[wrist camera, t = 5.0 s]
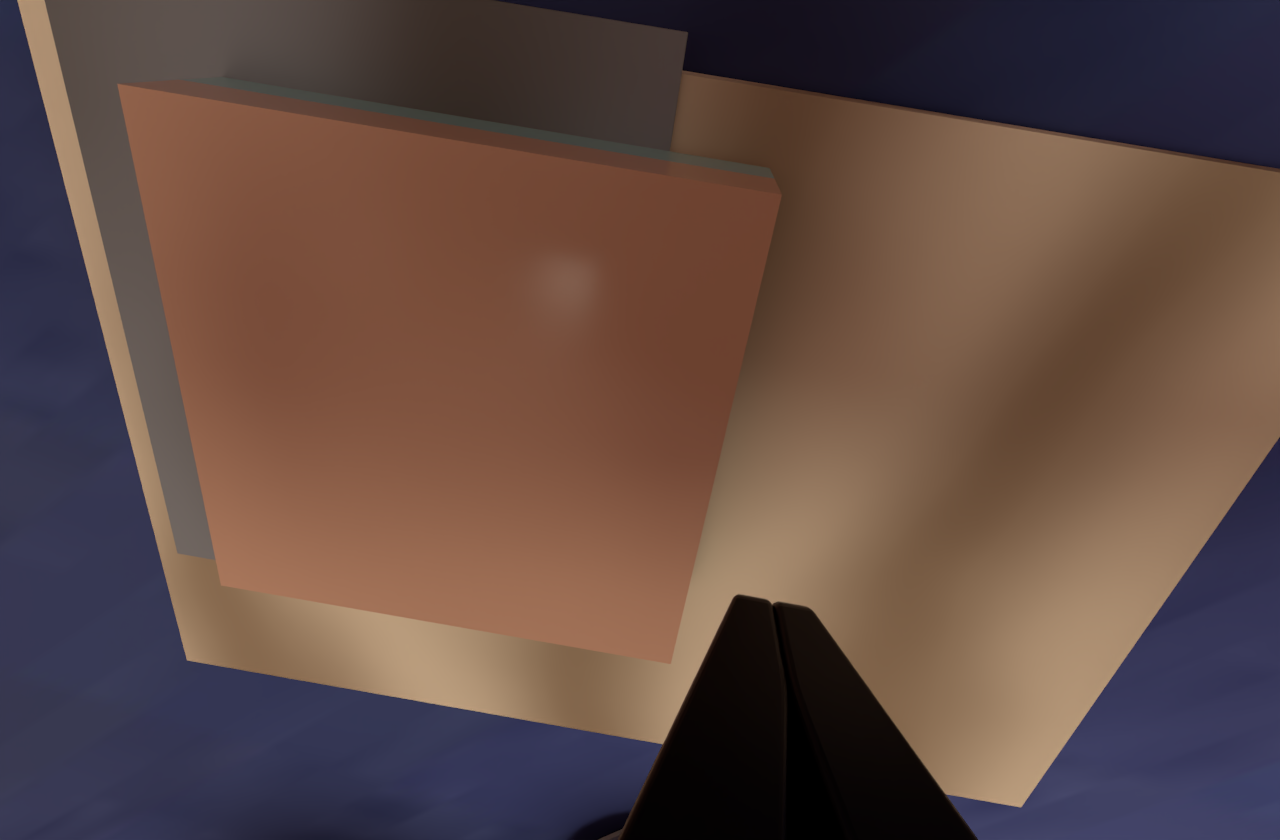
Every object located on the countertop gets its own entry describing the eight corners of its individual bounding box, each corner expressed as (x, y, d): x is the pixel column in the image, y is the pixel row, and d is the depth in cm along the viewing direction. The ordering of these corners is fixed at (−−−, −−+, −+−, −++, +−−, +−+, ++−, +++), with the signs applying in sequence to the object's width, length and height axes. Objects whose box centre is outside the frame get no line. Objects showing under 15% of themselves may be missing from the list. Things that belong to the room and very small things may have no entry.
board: (1394, 149, 10) (1479, 162, 9) (1002, 761, 17) (1022, 811, 16) (68, -70, 10) (-11, -83, 9) (218, 622, 17) (184, 663, 16)
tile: (781, 195, 8) (116, 83, 8) (670, 664, 12) (220, 585, 12) (769, 167, 10) (222, 76, 10) (676, 584, 14) (283, 517, 14)
